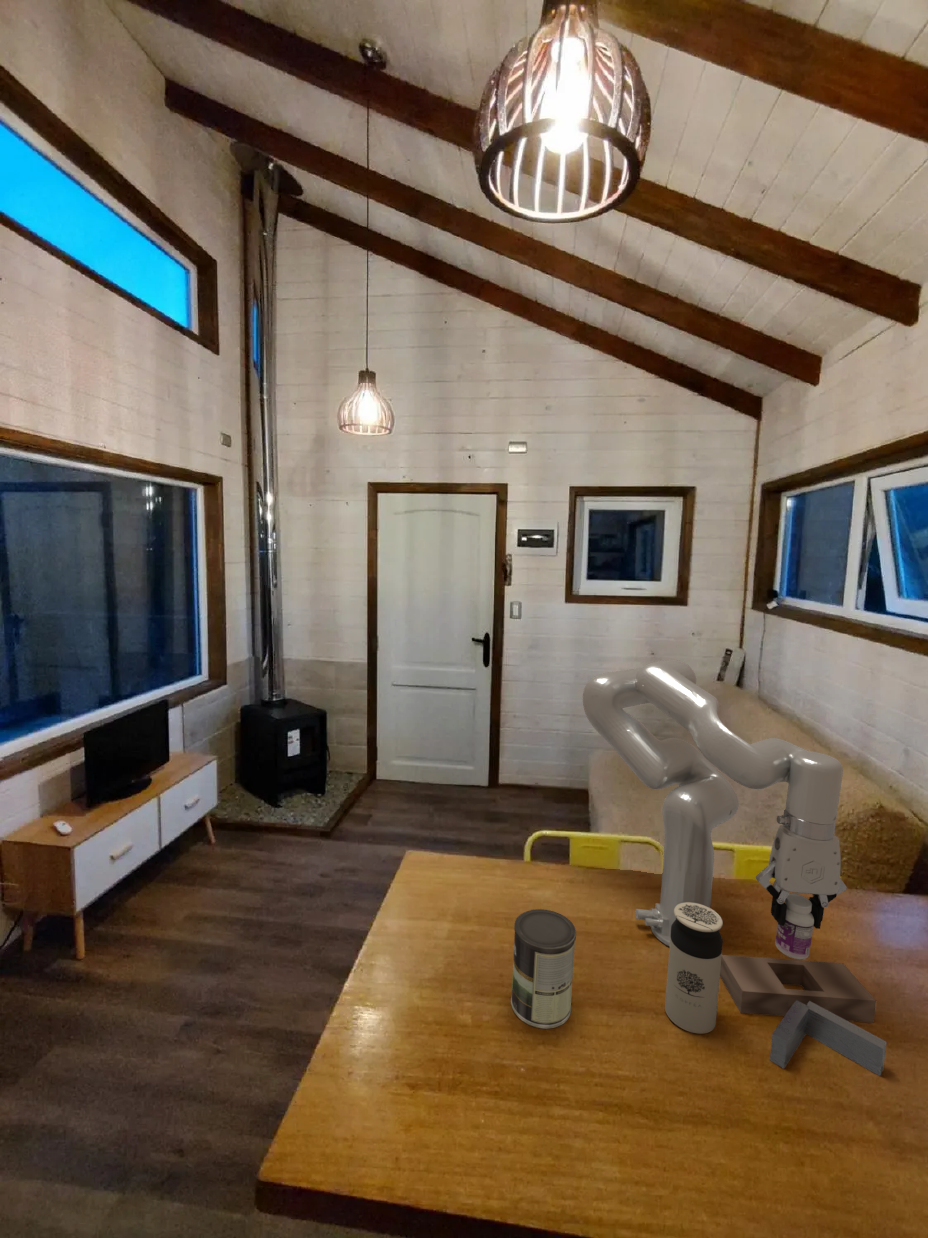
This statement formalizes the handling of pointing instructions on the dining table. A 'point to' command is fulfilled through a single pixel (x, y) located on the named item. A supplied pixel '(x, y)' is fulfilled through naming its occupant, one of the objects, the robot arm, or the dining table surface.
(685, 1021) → the travel mug
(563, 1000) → the coffee can
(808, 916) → the pill bottle
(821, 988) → the wooden block with hole
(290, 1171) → the dining table surface
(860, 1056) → the v block
